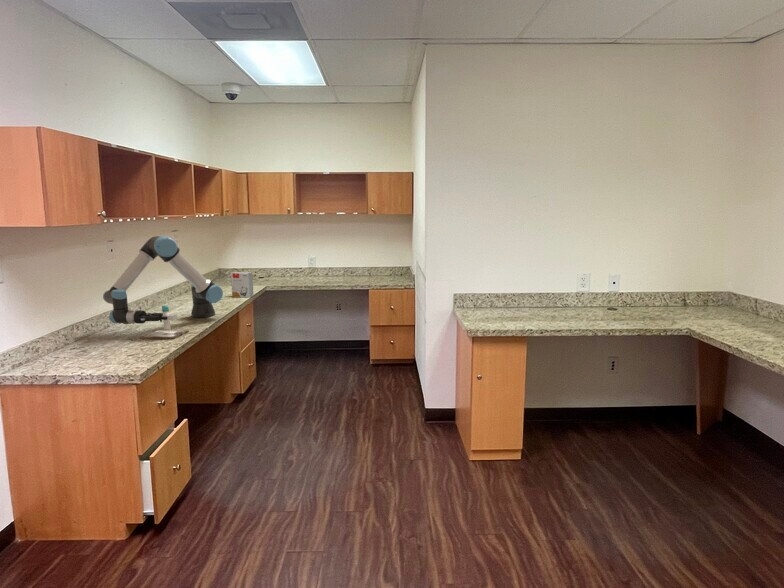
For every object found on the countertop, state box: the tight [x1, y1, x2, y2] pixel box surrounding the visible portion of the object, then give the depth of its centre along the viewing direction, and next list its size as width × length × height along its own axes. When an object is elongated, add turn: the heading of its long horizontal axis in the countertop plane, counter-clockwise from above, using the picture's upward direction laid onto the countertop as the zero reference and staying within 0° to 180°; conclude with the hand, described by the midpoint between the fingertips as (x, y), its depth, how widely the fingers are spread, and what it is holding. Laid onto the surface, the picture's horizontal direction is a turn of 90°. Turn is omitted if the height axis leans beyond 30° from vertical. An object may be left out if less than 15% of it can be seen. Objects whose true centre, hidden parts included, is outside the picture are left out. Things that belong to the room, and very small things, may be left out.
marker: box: [161, 305, 172, 331], centre depth 284 cm, size 3×3×14 cm
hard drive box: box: [230, 271, 255, 299], centre depth 405 cm, size 16×8×20 cm, turn 77°
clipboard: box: [139, 329, 190, 340], centre depth 286 cm, size 16×20×2 cm
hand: (175, 317), depth 283 cm, fingers closed on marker, 3 cm apart
